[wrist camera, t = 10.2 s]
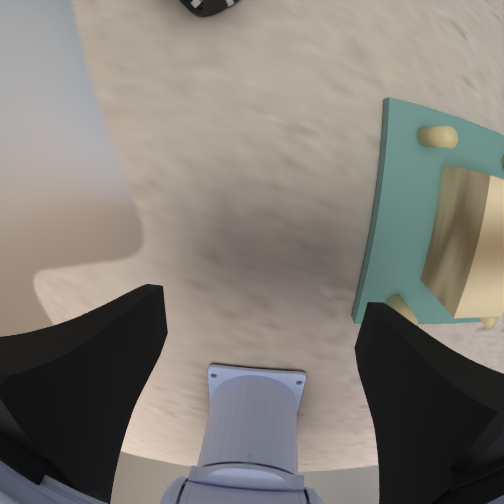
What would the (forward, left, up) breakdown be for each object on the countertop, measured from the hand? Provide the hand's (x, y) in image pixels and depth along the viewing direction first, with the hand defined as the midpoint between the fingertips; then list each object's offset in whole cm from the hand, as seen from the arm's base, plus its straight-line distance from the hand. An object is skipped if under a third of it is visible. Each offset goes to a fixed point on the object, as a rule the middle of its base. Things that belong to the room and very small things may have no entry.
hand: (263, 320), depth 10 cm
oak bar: (+2, -13, -8) cm, 16 cm away
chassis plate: (+2, -13, -9) cm, 16 cm away
